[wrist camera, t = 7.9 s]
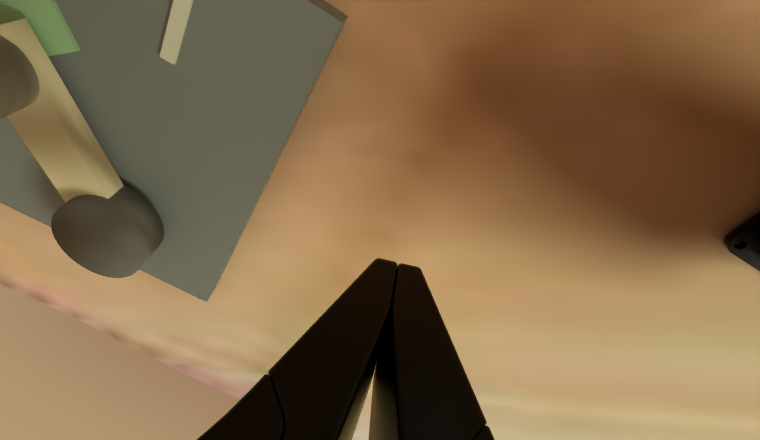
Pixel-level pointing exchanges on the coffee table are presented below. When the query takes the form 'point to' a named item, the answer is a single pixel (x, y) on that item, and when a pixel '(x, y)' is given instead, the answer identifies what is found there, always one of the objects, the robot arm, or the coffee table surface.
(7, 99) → the lever
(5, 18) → the plate
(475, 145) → the coffee table surface
